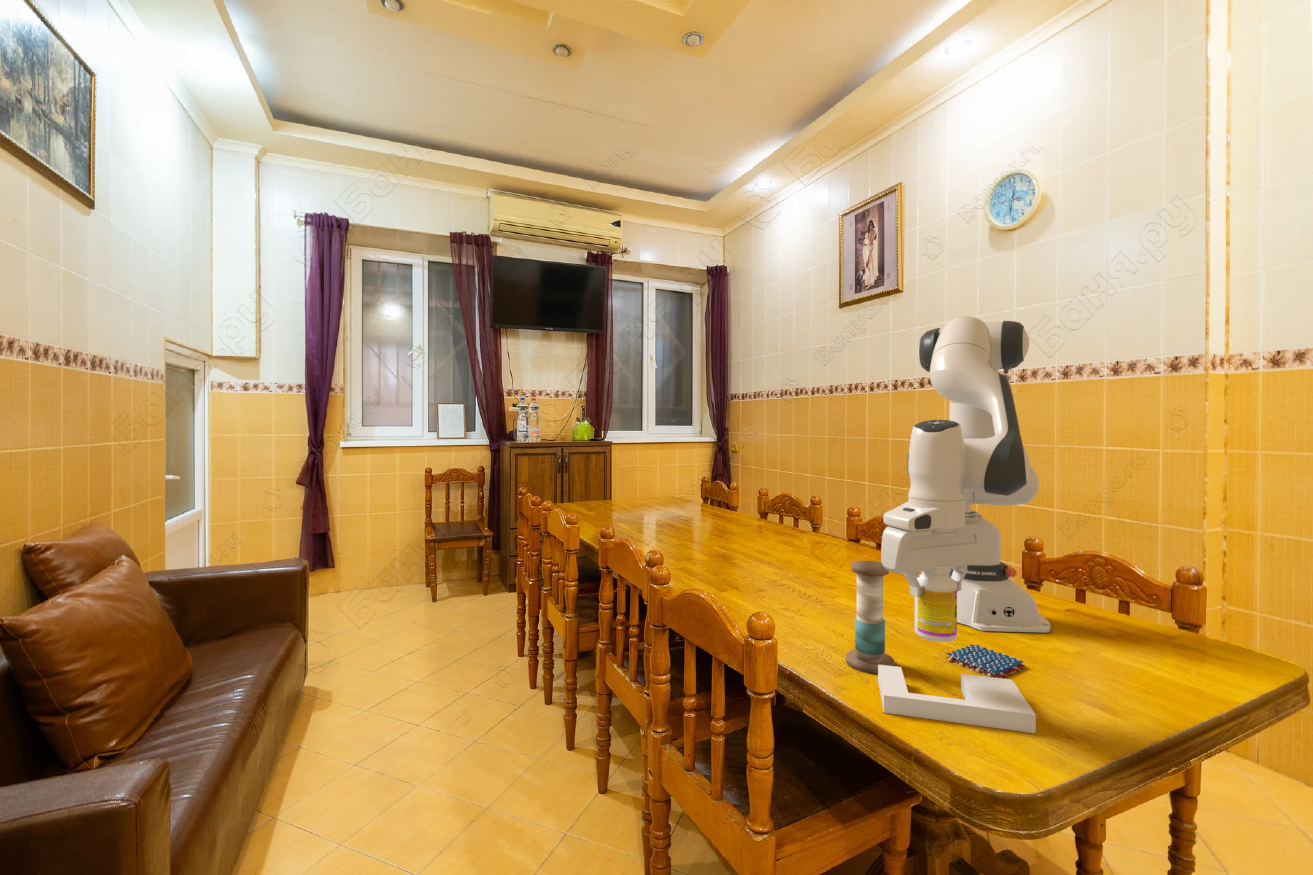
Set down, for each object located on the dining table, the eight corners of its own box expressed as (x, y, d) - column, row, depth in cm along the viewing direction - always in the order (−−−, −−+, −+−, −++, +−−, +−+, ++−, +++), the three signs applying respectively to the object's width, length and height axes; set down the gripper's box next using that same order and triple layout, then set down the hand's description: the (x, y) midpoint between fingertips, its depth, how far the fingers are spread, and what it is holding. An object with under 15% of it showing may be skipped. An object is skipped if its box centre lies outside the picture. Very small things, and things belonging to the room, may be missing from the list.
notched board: (1011, 696, 98) (1011, 679, 98) (1035, 733, 87) (1035, 714, 86) (878, 680, 105) (878, 664, 104) (883, 712, 93) (883, 695, 93)
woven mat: (998, 683, 104) (998, 673, 103) (944, 662, 113) (944, 652, 113) (1028, 670, 109) (1028, 660, 109) (974, 651, 118) (974, 641, 118)
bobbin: (891, 656, 114) (891, 560, 114) (896, 676, 106) (896, 572, 105) (845, 651, 117) (845, 558, 116) (846, 670, 109) (846, 569, 108)
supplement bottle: (962, 644, 93) (963, 569, 92) (920, 642, 94) (920, 567, 94) (949, 629, 100) (950, 558, 99) (910, 627, 101) (910, 557, 100)
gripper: (967, 507, 102) (967, 581, 103) (875, 515, 96) (875, 593, 97) (998, 512, 96) (997, 591, 97) (901, 521, 90) (901, 605, 91)
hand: (935, 592), depth 97 cm, fingers closed on supplement bottle, 7 cm apart
